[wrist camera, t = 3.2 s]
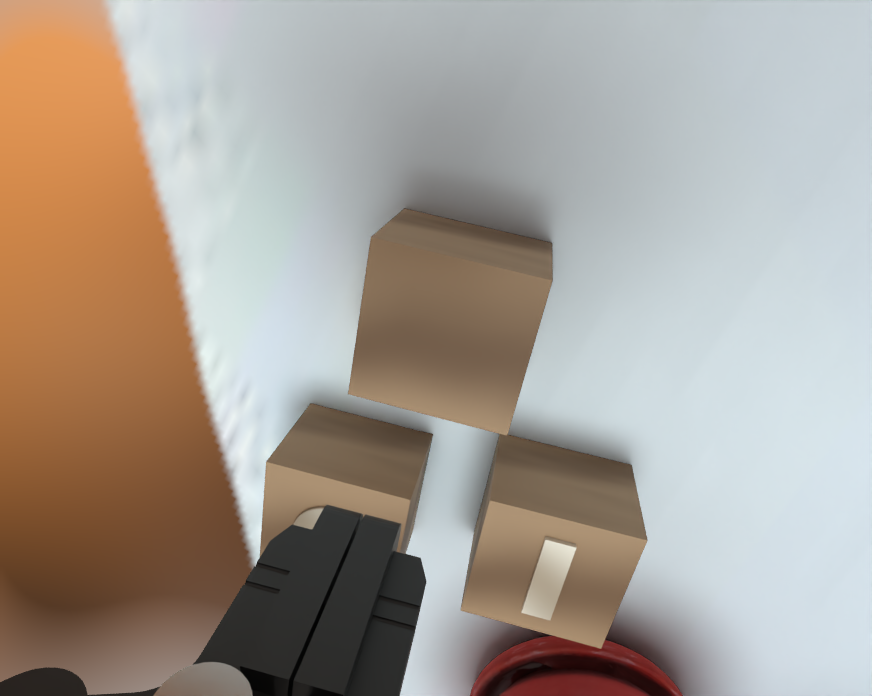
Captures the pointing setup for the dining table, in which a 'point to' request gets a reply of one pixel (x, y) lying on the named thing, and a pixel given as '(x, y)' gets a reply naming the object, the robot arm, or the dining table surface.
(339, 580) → the robot arm
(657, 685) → the plant pot
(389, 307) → the plain walnut block
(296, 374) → the dining table surface
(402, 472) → the cube with circle marking
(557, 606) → the marked walnut block bar
